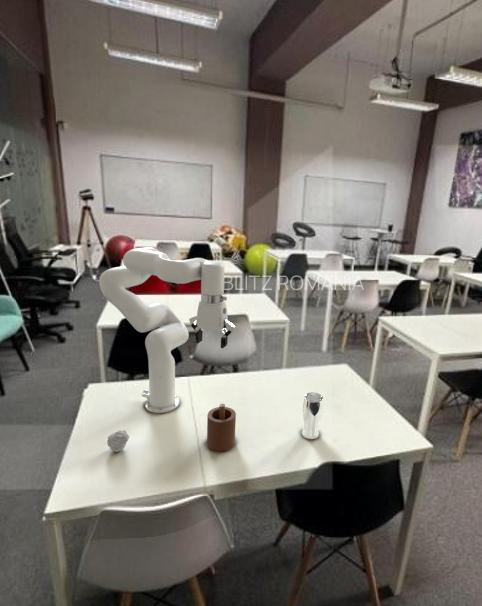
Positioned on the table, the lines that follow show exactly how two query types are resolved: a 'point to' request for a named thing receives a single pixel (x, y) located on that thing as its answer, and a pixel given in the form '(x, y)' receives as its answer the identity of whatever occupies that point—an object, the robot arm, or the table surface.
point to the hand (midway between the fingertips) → (211, 344)
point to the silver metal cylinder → (312, 414)
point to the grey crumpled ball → (118, 440)
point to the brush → (222, 412)
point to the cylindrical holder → (221, 430)
